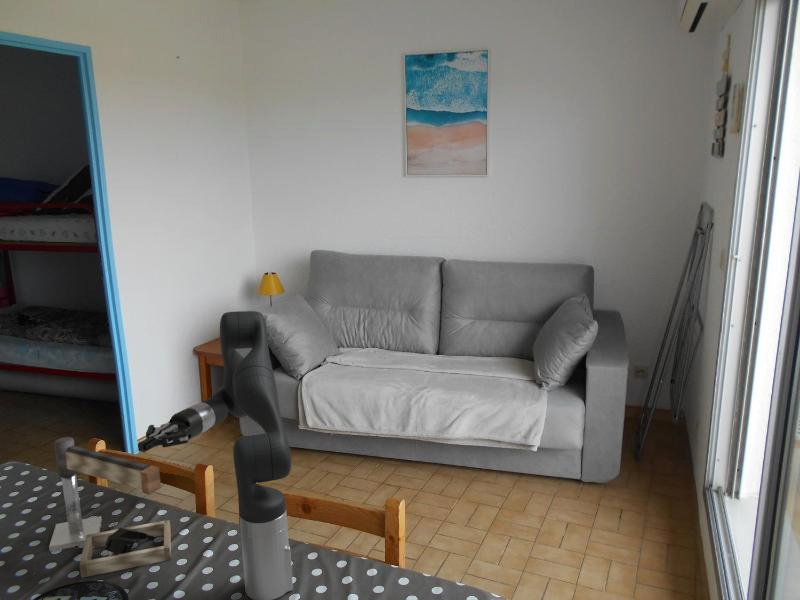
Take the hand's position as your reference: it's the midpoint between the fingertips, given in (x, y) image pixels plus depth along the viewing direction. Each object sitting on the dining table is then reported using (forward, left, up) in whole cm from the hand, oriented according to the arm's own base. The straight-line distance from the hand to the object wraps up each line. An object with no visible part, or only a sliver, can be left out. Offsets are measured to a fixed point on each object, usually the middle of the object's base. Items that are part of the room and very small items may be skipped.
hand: (140, 448), depth 154 cm
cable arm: (+7, +8, -4) cm, 11 cm away
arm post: (+16, -1, -20) cm, 26 cm away
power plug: (+3, +11, -20) cm, 23 cm away
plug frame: (+4, +11, -20) cm, 23 cm away
